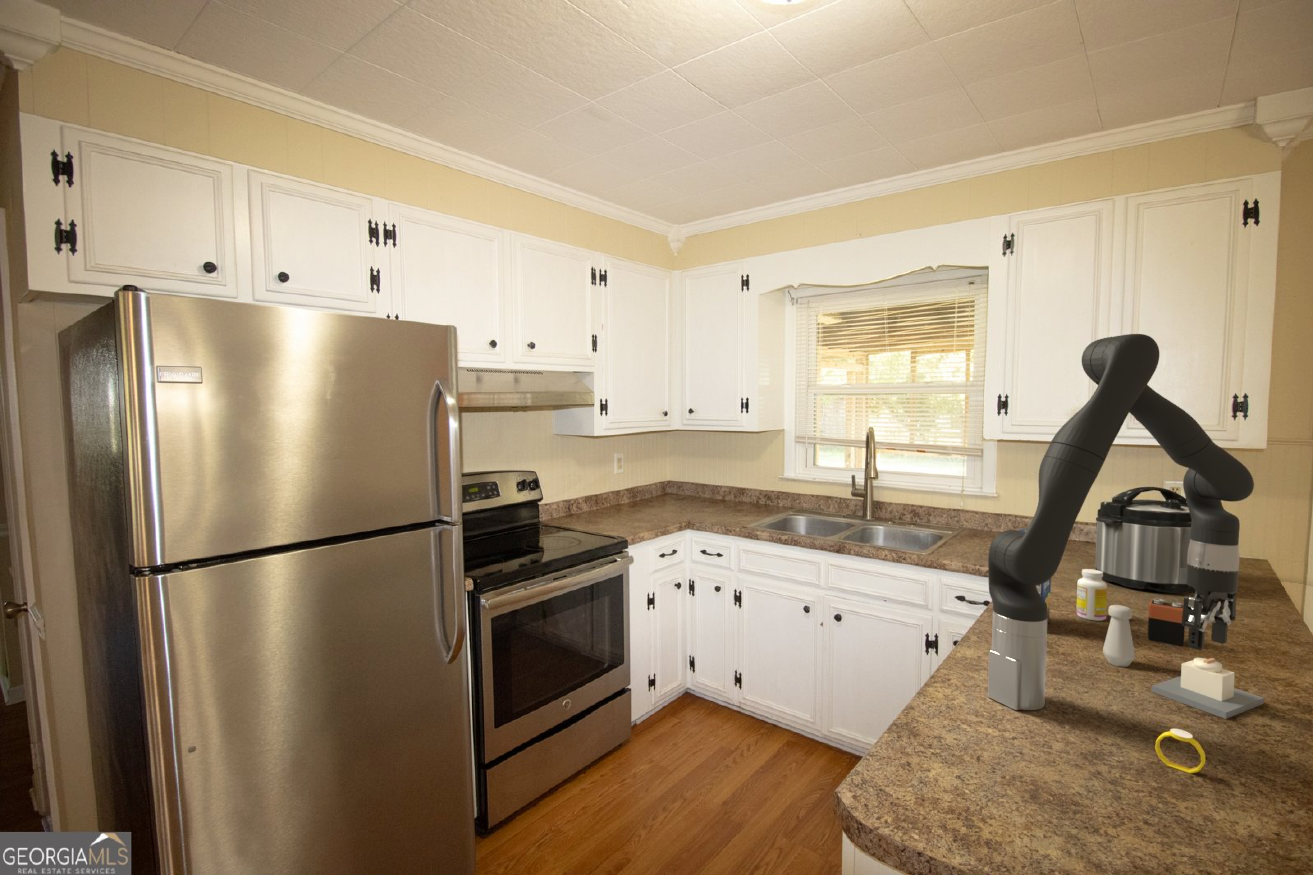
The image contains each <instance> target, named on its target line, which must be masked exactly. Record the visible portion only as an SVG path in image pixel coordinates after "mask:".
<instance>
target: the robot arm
mask: <svg viewBox="0 0 1313 875" xmlns="http://www.w3.org/2000/svg"><path fill="white" fill-rule="evenodd" d="M1159 361H1160V347H1159V346H1158V343H1157V342H1156V341H1155V339H1154V338H1153V337H1152V336H1149V335H1147V334H1143V333H1130V334H1128V333H1127V334H1122V335H1115V336H1108V337H1103V338H1099V339H1096V340H1094V341H1092V342H1090V343H1089V344H1088V345H1087V346H1086V347H1085V348H1084V349H1083V352H1082V356H1081V366H1082V370H1083V371H1084V373H1085V374H1086V376H1087V377H1088V378H1089V379H1090V380H1091V381H1092V382H1094V383H1095V384H1096V385H1097V386H1096V389H1095V391H1094V392H1093V394H1092V396H1091V397H1090V398H1089V400H1088V401H1087V402H1086V403H1085V404H1084V405H1083V406H1082V407H1081V408H1080V409H1079V410H1078V411H1077V412H1076V413H1075V414H1073V416H1071V417H1070V418H1069V419H1068V420H1067V421H1066V422H1065V423H1064V424H1063V425H1062V426H1061V427H1060V428H1059V430H1058V431H1057V432H1056V433H1055V434H1054V436H1053V438H1052V440H1051V442H1050V443H1049V445H1048V448H1047V449H1046V452H1045V453H1044V456H1043V457H1042V459H1041V463H1040V466H1039V469H1038V503H1037V506H1036V510H1035V513H1034V516H1033V518H1032V519H1031V522H1030V524H1029V526H1028V528H1027V529H1026V530H1027V531H1026V532H1025V533H1024V532H1021V531H1019V530H1015V529H1008V530H1004V531H1001V532H999V533H997V535H996V536H995V537H993V539H992V541H991V543H990V545H989V550H988V554H987V556H988V558H987V569H988V571H987V573H988V575H987V576H988V592H989V593H988V594H989V595H990V599H991V602H992V623H991V624H992V628H991V629H992V632H991V649H990V650H988V662H987V663H988V664H987V666H988V669H987V671H988V674H987V698H990V699H992V700H994V701H996V702H998V703H1000V704H1002V705H1004V706H1006V707H1008V708H1009V709H1012V710H1014V711H1019V710H1024V711H1037V710H1041V709H1043V708H1044V707H1045V700H1046V670H1047V669H1046V667H1047V666H1046V664H1047V638H1048V637H1047V634H1048V623H1047V614H1048V608H1047V604H1046V602H1045V601H1044V600H1043V598H1042V597H1041V596H1040V594H1039V592H1038V590H1037V588H1036V585H1041V584H1043V583H1045V582H1047V581H1048V580H1049V579H1050V578H1051V579H1052V578H1053V577H1054V575H1055V574H1056V573H1057V571H1058V568H1059V566H1060V565H1061V561H1062V558H1063V557H1064V556H1063V555H1064V553H1065V550H1066V547H1067V544H1068V541H1069V539H1070V536H1071V533H1072V530H1073V528H1074V525H1075V522H1076V520H1077V518H1078V516H1079V513H1080V512H1081V510H1082V507H1083V505H1084V503H1085V501H1086V499H1087V497H1088V495H1089V493H1090V491H1091V488H1092V486H1093V484H1094V483H1095V481H1096V480H1097V477H1098V475H1099V473H1100V472H1101V470H1102V467H1103V465H1104V463H1105V461H1106V459H1107V457H1108V454H1109V452H1110V450H1111V448H1112V446H1113V443H1114V442H1115V441H1116V438H1117V436H1118V434H1119V433H1120V430H1121V429H1122V426H1123V425H1124V423H1125V421H1126V419H1127V417H1128V415H1129V414H1130V415H1131V416H1132V417H1134V418H1135V419H1136V420H1137V421H1138V422H1139V423H1140V424H1141V425H1142V427H1144V428H1145V430H1146V431H1148V433H1150V434H1149V435H1151V436H1152V437H1153V439H1155V441H1156V442H1157V443H1158V445H1159V446H1161V448H1162V449H1163V451H1164V452H1165V453H1166V454H1167V455H1168V456H1169V458H1170V459H1171V460H1172V461H1173V463H1175V464H1177V465H1179V466H1181V467H1184V468H1188V469H1187V470H1186V472H1185V474H1184V476H1183V480H1182V481H1183V482H1182V486H1183V487H1182V488H1183V493H1184V495H1185V497H1184V498H1186V501H1187V505H1188V509H1189V512H1190V515H1191V519H1192V522H1191V535H1190V544H1189V548H1188V557H1187V574H1186V583H1187V584H1188V585H1189V586H1191V587H1193V588H1194V589H1195V591H1194V595H1193V596H1190V595H1185V596H1184V597H1183V604H1182V605H1183V614H1182V625H1183V626H1185V628H1188V636H1187V638H1188V639H1187V646H1188V647H1189V648H1191V649H1193V650H1194V649H1195V650H1198V651H1202V650H1204V646H1205V633H1206V632H1205V630H1206V628H1207V625H1208V624H1210V623H1211V635H1210V636H1211V638H1210V639H1211V641H1212V642H1214V643H1218V644H1222V645H1223V644H1227V641H1228V632H1229V631H1228V628H1229V626H1230V625H1231V624H1232V623H1231V622H1234V621H1235V620H1236V615H1237V614H1236V612H1237V610H1236V609H1237V591H1238V588H1239V587H1238V584H1239V571H1240V570H1239V569H1240V550H1239V541H1240V540H1239V539H1240V525H1241V524H1240V519H1239V517H1238V516H1237V515H1235V514H1233V513H1231V512H1228V511H1227V510H1226V509H1225V508H1224V505H1223V503H1222V502H1223V501H1224V502H1240V501H1243V500H1246V499H1247V498H1248V497H1249V496H1251V494H1252V493H1253V491H1254V488H1255V483H1254V482H1255V481H1254V477H1253V475H1252V474H1251V472H1250V470H1249V469H1248V468H1247V467H1246V466H1245V465H1244V464H1243V463H1242V462H1241V461H1240V460H1238V459H1237V458H1236V457H1235V456H1233V455H1232V454H1230V453H1229V452H1228V451H1226V450H1225V449H1223V448H1222V447H1220V446H1219V445H1218V444H1216V443H1215V442H1214V441H1213V440H1212V438H1211V437H1210V436H1209V435H1208V434H1207V432H1206V431H1205V430H1204V429H1203V428H1202V426H1201V425H1200V424H1199V423H1198V421H1197V420H1196V419H1195V418H1194V417H1193V416H1191V414H1189V413H1188V412H1187V411H1185V410H1184V409H1183V408H1181V407H1180V406H1178V405H1177V404H1175V403H1174V402H1172V401H1170V399H1168V398H1166V397H1164V396H1162V395H1161V394H1160V393H1158V392H1157V391H1155V389H1153V388H1152V387H1151V386H1150V385H1148V384H1149V382H1150V380H1152V378H1153V375H1154V374H1155V372H1156V370H1157V368H1158V364H1159ZM1235 622H1236V621H1235Z"/></svg>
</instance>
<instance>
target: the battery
mask: <svg viewBox="0 0 1313 875" xmlns="http://www.w3.org/2000/svg"><path fill="white" fill-rule="evenodd" d="M1182 614H1183V604H1182V603H1181V602H1176V601H1173V602H1172V603H1171V602H1165V599H1162V598H1155V597H1154V598H1153V600H1150V601H1149V603H1148V621H1147V639H1148V640H1149V641H1153V642H1154V641H1155V642H1158V643H1164V644H1168V645H1175V646H1180V647H1183V646H1184V644H1185V628H1186V626H1183V625H1182Z"/></svg>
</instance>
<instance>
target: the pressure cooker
mask: <svg viewBox="0 0 1313 875" xmlns="http://www.w3.org/2000/svg"><path fill="white" fill-rule="evenodd" d="M1151 491H1157V492H1159V493H1160V494H1161V496H1162V497H1163V499H1164V500H1157V499H1136V498H1137V497H1138V496H1139V495H1140V494H1142V493H1147V492H1151ZM1096 515H1097V516H1096V517H1095V521H1096V527H1095V528H1096V536H1095V538H1096V540H1095V565H1094V566H1095V570H1098V571H1101V572H1103V577H1102V580H1105V582H1111V583H1115V584H1118V585H1121V586H1124V587H1128V588H1132V589H1137V590H1146V589H1148V590H1153V591H1157V592H1163V593H1171V594H1172V593H1173V594H1187V593H1192V592H1195V589H1194V588H1193V587H1191V586H1189V585H1188V584H1187V583H1186V574H1187V557H1188V548H1189V544H1190V535H1191V522H1192V519H1191V515H1190V512H1189V509H1188V505H1187V501H1186V497H1184V496H1183V495H1181V494H1179V493H1178V492H1175V491H1173V490H1171V489H1167V488H1164V487H1158V486H1141V487H1134V488H1130V489H1127V490H1125V491H1122V492H1120V493H1118V494H1116V495H1114V496H1113V497H1111V500H1107V501H1101V502H1100V506H1099V509H1097V514H1096Z"/></svg>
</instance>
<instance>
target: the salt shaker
mask: <svg viewBox="0 0 1313 875" xmlns="http://www.w3.org/2000/svg"><path fill="white" fill-rule="evenodd" d="M1107 611H1108V615H1109V616H1110V621H1109V624H1108V628H1107V632H1106V636H1105V638H1104V639H1105V640H1104V644H1103V647H1102V654H1103V655H1104V656H1105V658H1106V660H1107V662H1108V664H1110V665H1113V666H1116V667H1122V668H1123V667H1124V668H1127V667H1129V666H1130V665H1131V664H1132V662H1133V661H1134V659H1135V657H1136V655H1135V654H1136V653H1135V648H1134V642H1133V636H1132V631H1131V625H1130V619H1132V617H1133V610H1132V609H1131V608H1130V607H1128V606H1125V605H1121V604H1111V605H1110V606H1108V609H1107Z"/></svg>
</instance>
